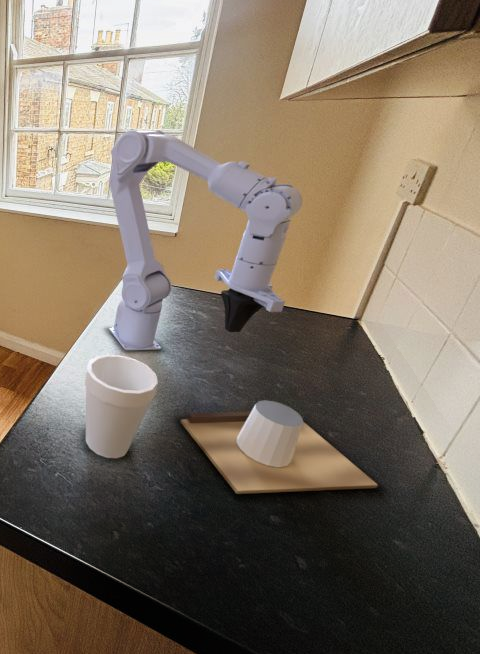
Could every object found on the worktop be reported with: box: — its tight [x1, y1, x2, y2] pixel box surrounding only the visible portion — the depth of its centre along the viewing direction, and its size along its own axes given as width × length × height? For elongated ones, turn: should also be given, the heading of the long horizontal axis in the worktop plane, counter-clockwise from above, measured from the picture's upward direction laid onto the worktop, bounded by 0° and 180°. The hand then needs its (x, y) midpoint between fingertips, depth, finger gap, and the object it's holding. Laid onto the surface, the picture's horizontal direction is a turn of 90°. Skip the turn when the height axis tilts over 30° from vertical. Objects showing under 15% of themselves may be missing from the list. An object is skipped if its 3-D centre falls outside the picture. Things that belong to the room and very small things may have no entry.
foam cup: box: [84, 353, 159, 459], centre depth 59 cm, size 10×9×13 cm
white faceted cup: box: [237, 399, 304, 467], centre depth 59 cm, size 7×7×7 cm
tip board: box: [180, 411, 379, 495], centre depth 60 cm, size 14×20×2 cm
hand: (232, 330), depth 74 cm, fingers closed
